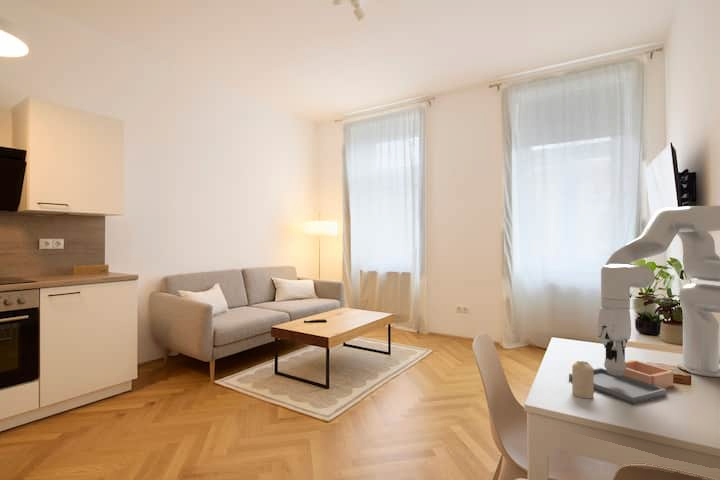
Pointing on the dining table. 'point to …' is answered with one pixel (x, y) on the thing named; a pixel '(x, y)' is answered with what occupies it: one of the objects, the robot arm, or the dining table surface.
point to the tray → (625, 387)
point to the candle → (583, 380)
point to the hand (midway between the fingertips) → (615, 360)
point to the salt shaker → (619, 365)
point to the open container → (649, 373)
